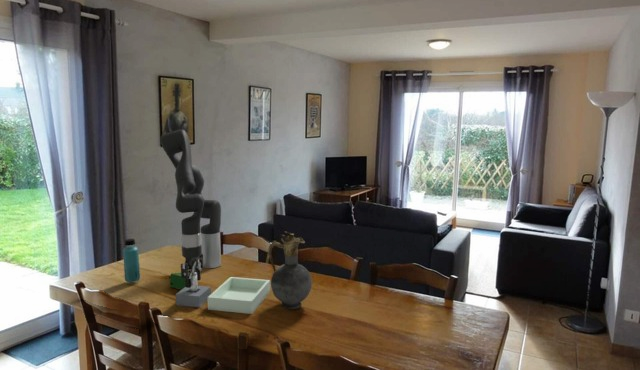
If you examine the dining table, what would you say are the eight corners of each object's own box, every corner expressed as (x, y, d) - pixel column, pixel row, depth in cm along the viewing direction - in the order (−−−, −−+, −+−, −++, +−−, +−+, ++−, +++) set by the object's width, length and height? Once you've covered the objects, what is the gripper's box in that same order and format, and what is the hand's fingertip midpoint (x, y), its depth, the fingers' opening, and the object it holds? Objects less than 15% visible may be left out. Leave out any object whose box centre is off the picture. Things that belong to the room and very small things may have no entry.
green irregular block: (193, 297, 188) (202, 279, 187) (182, 298, 183) (191, 280, 182) (176, 281, 194) (185, 264, 193) (166, 282, 189) (175, 264, 188)
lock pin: (192, 299, 176) (191, 270, 174) (199, 299, 175) (198, 271, 173) (188, 302, 173) (187, 273, 171) (195, 303, 172) (194, 274, 170)
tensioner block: (188, 295, 180) (188, 284, 179) (211, 297, 178) (210, 286, 177) (176, 305, 170) (175, 294, 169) (199, 307, 168) (199, 296, 167)
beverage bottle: (136, 285, 189) (134, 241, 186) (121, 285, 190) (118, 241, 186) (143, 280, 196) (140, 237, 193) (128, 280, 196) (126, 237, 193)
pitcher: (299, 315, 162) (299, 238, 157) (260, 303, 172) (259, 230, 167) (315, 305, 171) (316, 231, 166) (277, 294, 181) (277, 224, 176)
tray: (230, 287, 188) (230, 276, 187) (270, 291, 184) (270, 280, 183) (207, 309, 166) (207, 297, 166) (252, 313, 163) (251, 301, 162)
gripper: (191, 238, 178) (193, 276, 181) (173, 248, 164) (175, 289, 167) (208, 239, 176) (209, 278, 179) (191, 249, 163) (193, 291, 165)
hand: (193, 283), depth 173 cm, fingers open, 7 cm apart
